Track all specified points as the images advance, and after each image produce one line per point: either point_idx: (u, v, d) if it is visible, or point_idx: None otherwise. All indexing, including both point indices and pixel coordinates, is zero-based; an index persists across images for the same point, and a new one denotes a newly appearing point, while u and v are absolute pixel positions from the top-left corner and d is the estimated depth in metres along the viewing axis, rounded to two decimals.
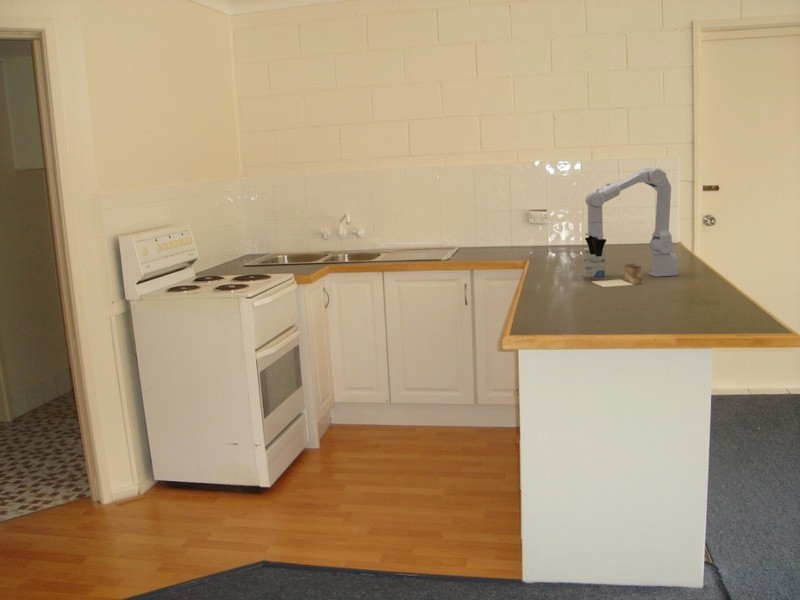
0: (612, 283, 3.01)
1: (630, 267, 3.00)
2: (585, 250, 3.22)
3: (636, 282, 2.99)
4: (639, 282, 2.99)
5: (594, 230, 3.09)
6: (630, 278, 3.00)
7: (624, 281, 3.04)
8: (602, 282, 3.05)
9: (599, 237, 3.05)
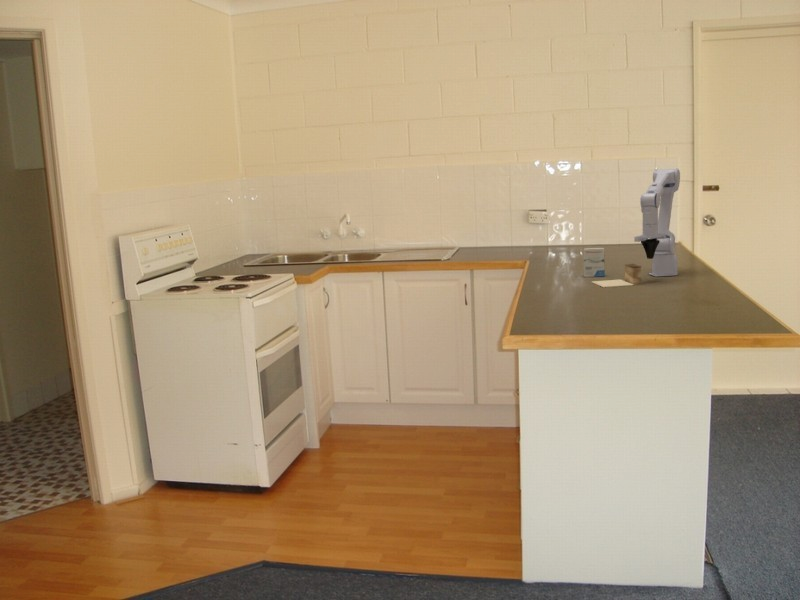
0: (612, 283, 3.01)
1: (630, 267, 3.00)
2: (585, 250, 3.22)
3: (636, 282, 2.99)
4: (639, 282, 2.99)
5: None
6: (630, 278, 3.00)
7: (624, 281, 3.04)
8: (602, 282, 3.05)
9: (635, 239, 2.98)
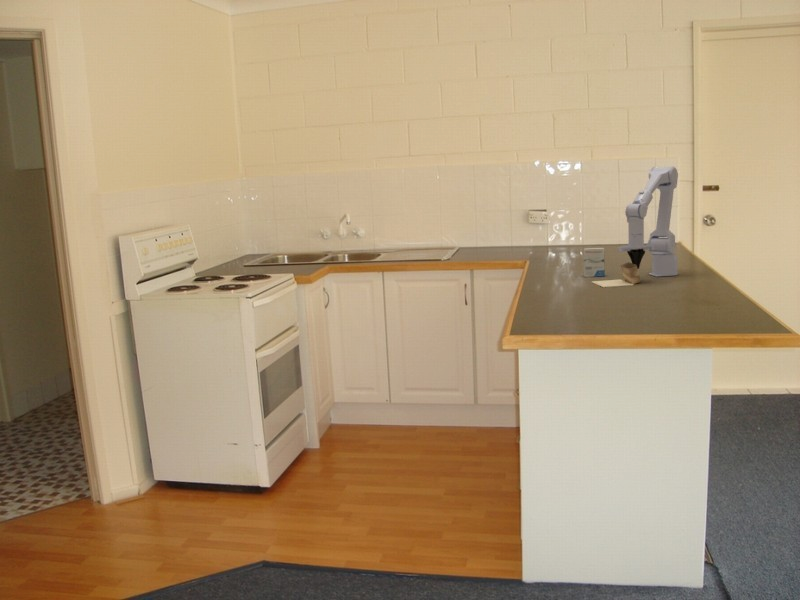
0: (612, 283, 3.01)
1: (626, 268, 3.00)
2: (585, 250, 3.22)
3: (635, 281, 2.99)
4: (638, 280, 2.99)
5: None
6: (629, 278, 3.00)
7: (624, 281, 3.04)
8: (602, 282, 3.05)
9: (618, 249, 3.00)
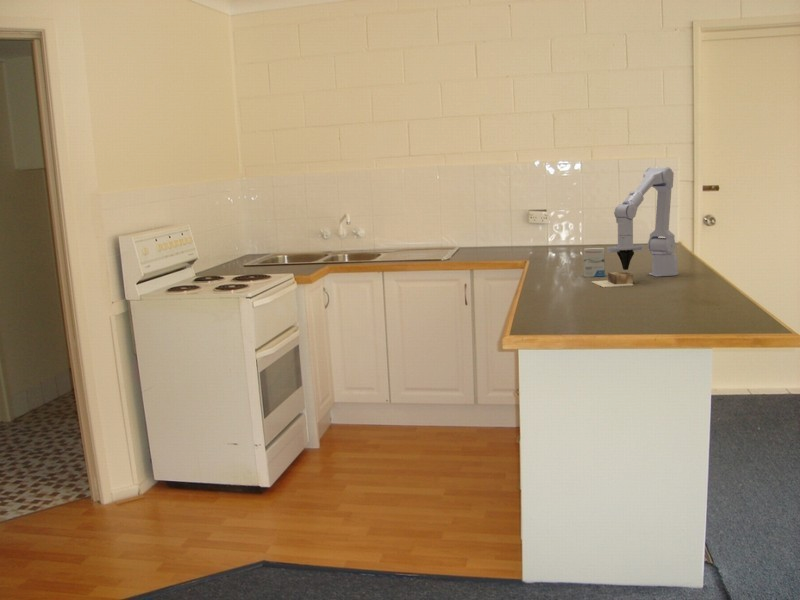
0: (612, 283, 3.01)
1: (614, 283, 3.00)
2: (585, 250, 3.22)
3: (631, 279, 2.99)
4: (631, 276, 2.98)
5: None
6: None
7: None
8: (602, 282, 3.05)
9: (607, 250, 3.00)
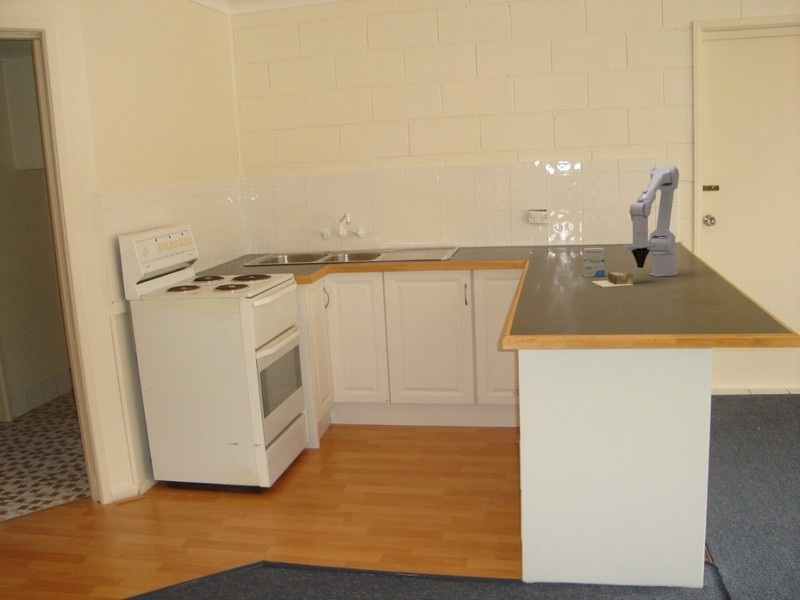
0: (612, 283, 3.01)
1: (614, 283, 3.00)
2: (585, 250, 3.22)
3: (631, 279, 2.99)
4: (631, 276, 2.98)
5: None
6: None
7: None
8: (602, 282, 3.05)
9: (623, 248, 2.99)
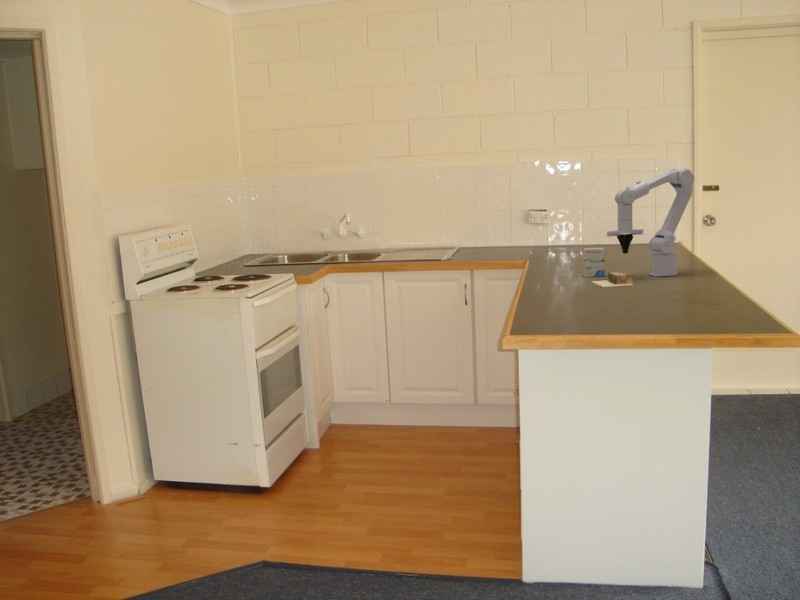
0: (612, 283, 3.01)
1: (614, 283, 3.00)
2: (585, 250, 3.22)
3: (631, 279, 2.99)
4: (631, 276, 2.98)
5: None
6: None
7: None
8: (602, 282, 3.05)
9: (607, 234, 3.11)
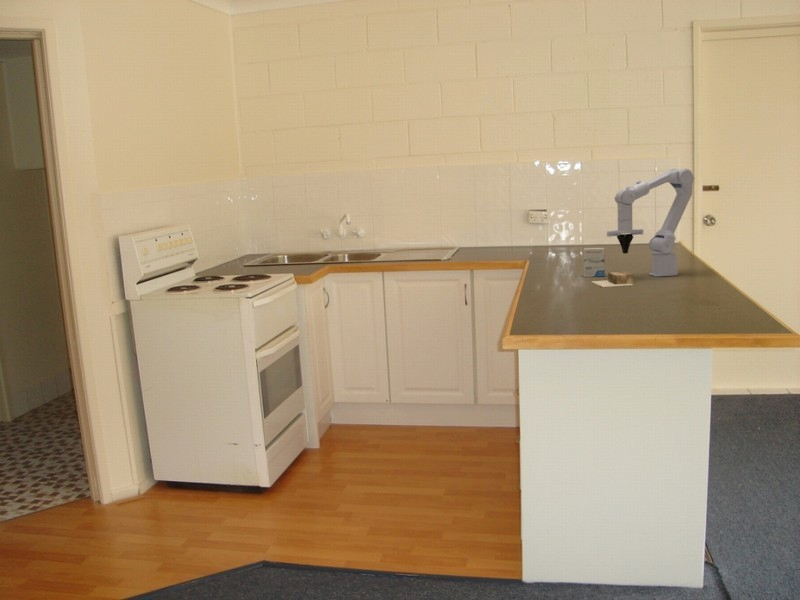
0: (612, 283, 3.01)
1: (614, 283, 3.00)
2: (585, 250, 3.22)
3: (631, 279, 2.99)
4: (631, 276, 2.98)
5: None
6: None
7: None
8: (602, 282, 3.05)
9: (607, 234, 3.11)
